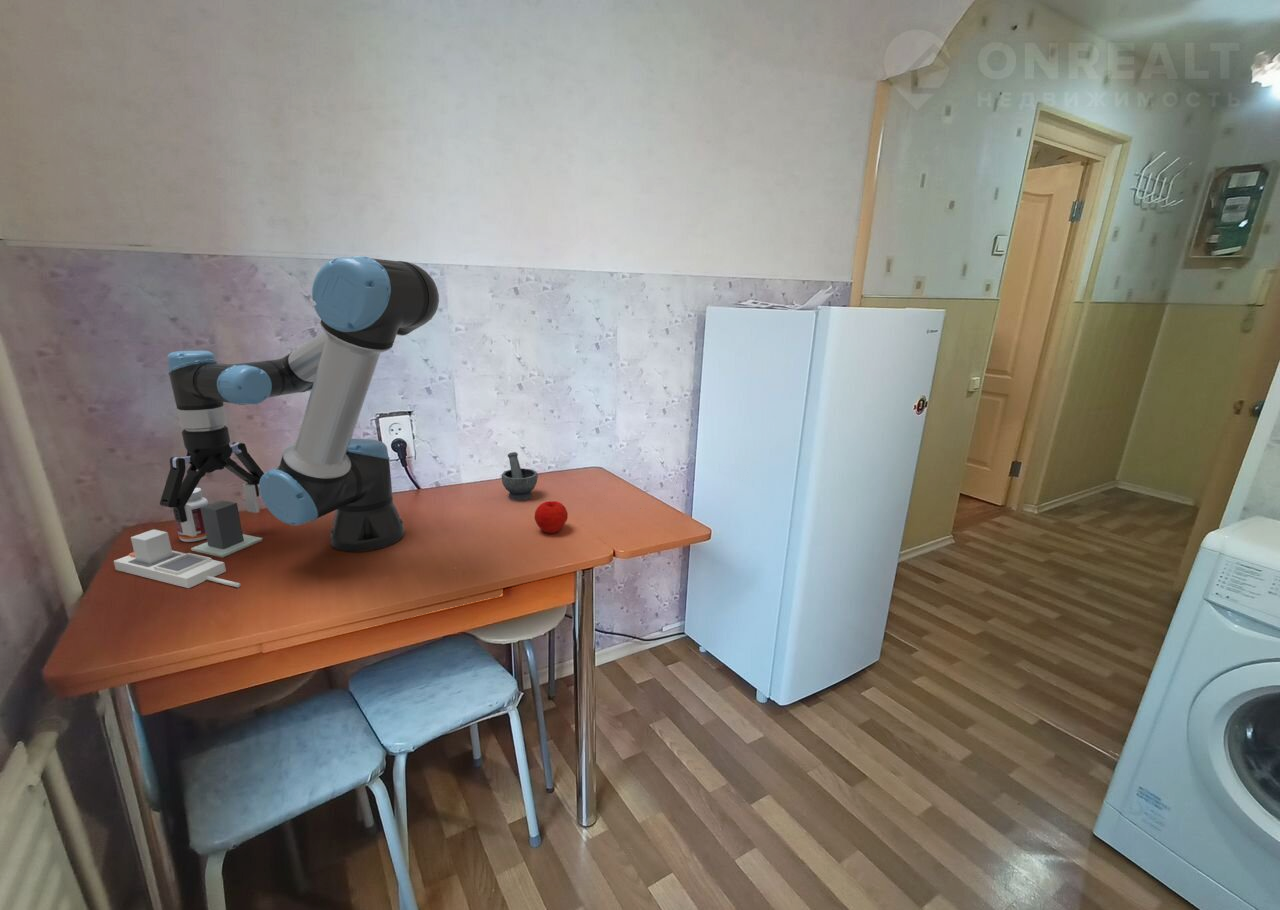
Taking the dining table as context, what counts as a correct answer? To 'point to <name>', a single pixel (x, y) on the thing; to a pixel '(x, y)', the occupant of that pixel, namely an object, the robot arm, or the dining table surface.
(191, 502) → the pill bottle
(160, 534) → the strip
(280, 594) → the dining table surface
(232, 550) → the coaster
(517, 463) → the mortar and pestle
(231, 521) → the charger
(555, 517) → the apple
